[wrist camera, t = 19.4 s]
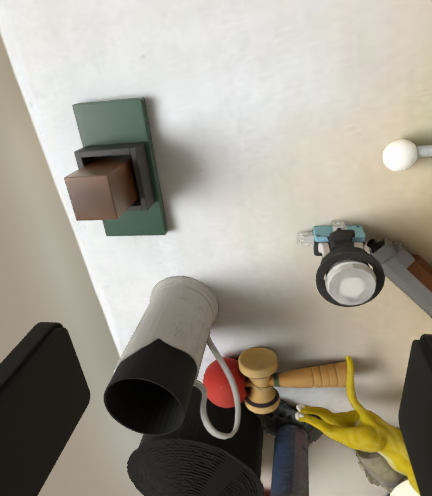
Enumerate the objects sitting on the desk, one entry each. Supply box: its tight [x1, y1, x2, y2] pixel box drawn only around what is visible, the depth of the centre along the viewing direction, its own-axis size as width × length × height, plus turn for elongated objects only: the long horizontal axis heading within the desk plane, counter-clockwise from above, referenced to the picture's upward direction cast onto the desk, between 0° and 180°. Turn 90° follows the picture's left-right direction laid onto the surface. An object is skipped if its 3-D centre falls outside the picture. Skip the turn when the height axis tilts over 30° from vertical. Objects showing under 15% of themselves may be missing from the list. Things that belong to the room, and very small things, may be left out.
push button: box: [297, 220, 385, 307], centre depth 33 cm, size 7×5×10 cm
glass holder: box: [104, 276, 241, 439], centre depth 39 cm, size 9×14×15 cm, turn 57°
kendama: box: [203, 347, 347, 414], centre depth 45 cm, size 8×6×18 cm
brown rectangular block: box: [64, 155, 140, 221], centre depth 34 cm, size 4×4×7 cm
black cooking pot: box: [127, 387, 264, 496], centre depth 49 cm, size 18×18×15 cm
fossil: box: [355, 449, 408, 494], centre depth 50 cm, size 14×10×10 cm
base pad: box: [72, 97, 168, 236], centre depth 37 cm, size 14×7×4 cm, turn 5°
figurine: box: [295, 356, 420, 495], centre depth 42 cm, size 5×21×10 cm
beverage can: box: [262, 401, 324, 496], centre depth 47 cm, size 9×8×12 cm
